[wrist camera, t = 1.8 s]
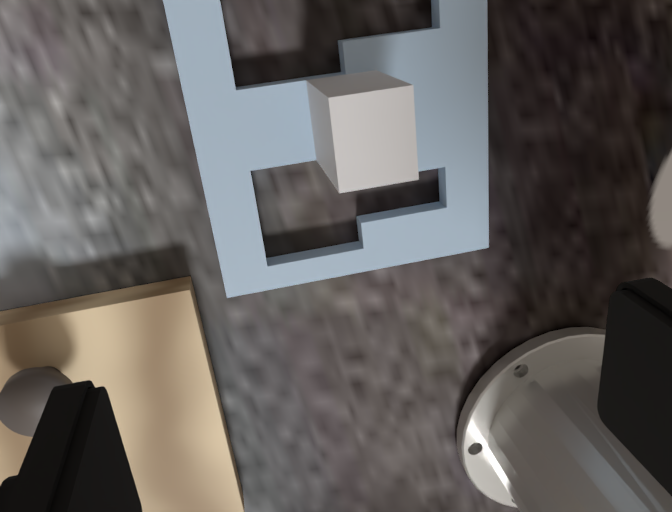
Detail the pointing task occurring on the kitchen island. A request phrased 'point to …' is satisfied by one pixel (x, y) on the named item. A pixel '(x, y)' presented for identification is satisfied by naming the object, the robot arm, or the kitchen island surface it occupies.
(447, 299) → the kitchen island surface
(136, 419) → the board
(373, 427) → the kitchen island surface
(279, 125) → the panel
